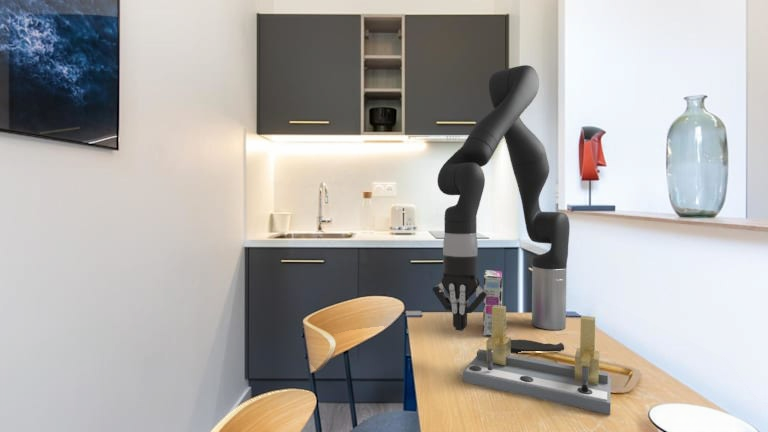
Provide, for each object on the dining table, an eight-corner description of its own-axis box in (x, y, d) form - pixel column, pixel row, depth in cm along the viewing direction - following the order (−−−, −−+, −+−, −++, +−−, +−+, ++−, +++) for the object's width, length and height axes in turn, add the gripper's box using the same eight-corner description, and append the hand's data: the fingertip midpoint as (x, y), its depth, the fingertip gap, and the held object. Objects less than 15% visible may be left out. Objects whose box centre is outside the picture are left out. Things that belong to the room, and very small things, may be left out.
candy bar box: (502, 338, 108) (502, 277, 107) (482, 336, 109) (483, 276, 108) (501, 325, 118) (502, 270, 118) (484, 324, 120) (484, 269, 119)
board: (479, 361, 92) (479, 345, 92) (610, 386, 79) (610, 369, 79) (462, 381, 82) (462, 364, 82) (610, 414, 69) (610, 394, 69)
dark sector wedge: (569, 358, 95) (569, 352, 95) (509, 355, 97) (509, 348, 97) (560, 346, 103) (560, 339, 103) (505, 342, 105) (505, 336, 105)
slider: (492, 354, 90) (492, 303, 90) (510, 357, 88) (511, 305, 88) (479, 370, 82) (479, 313, 81) (499, 374, 80) (500, 316, 79)
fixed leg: (576, 371, 82) (577, 313, 82) (599, 375, 80) (600, 316, 80) (572, 391, 73) (573, 326, 73) (597, 396, 71) (598, 330, 71)
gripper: (494, 253, 91) (493, 329, 91) (438, 249, 97) (438, 321, 98) (484, 257, 84) (484, 339, 85) (426, 253, 91) (426, 329, 91)
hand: (459, 329), depth 91 cm, fingers closed
